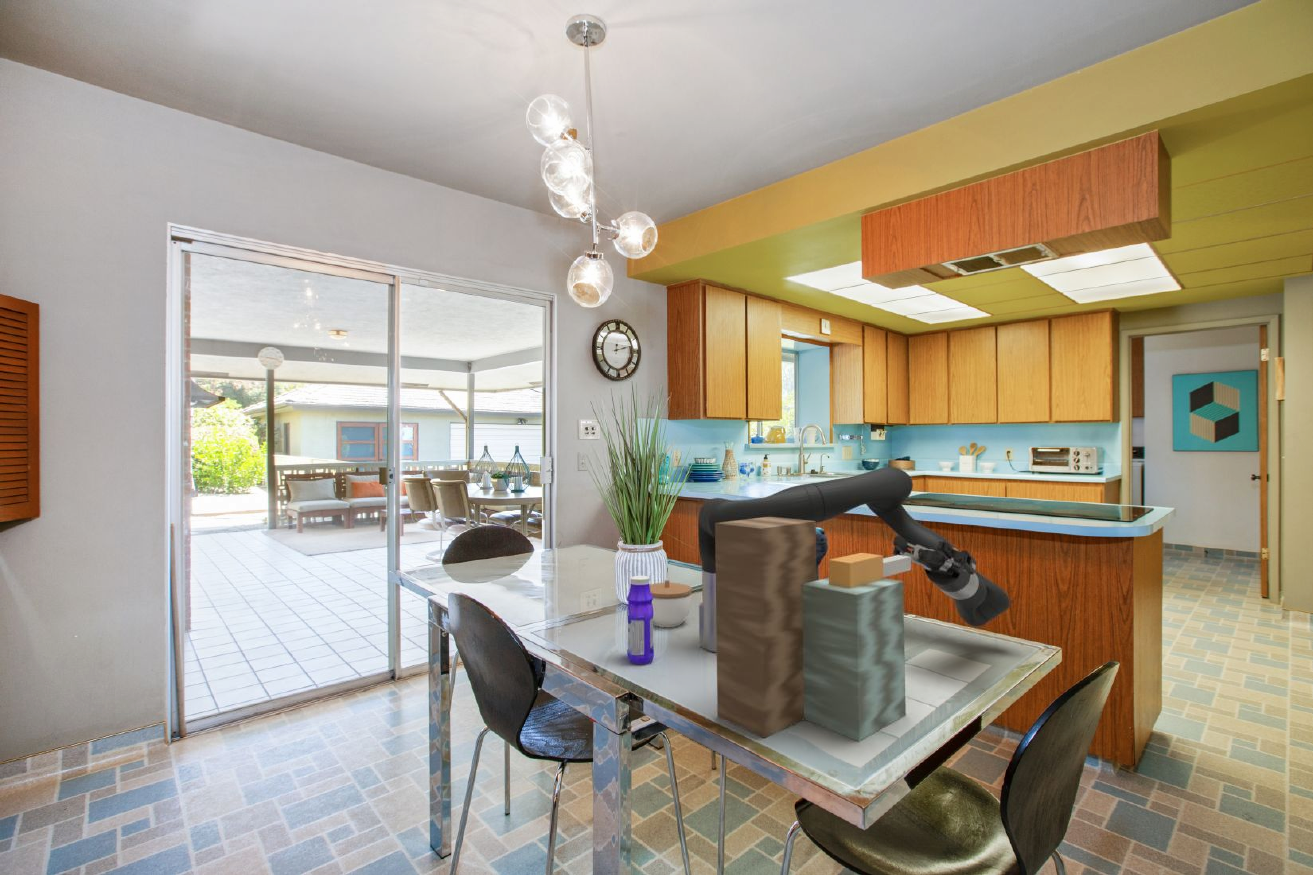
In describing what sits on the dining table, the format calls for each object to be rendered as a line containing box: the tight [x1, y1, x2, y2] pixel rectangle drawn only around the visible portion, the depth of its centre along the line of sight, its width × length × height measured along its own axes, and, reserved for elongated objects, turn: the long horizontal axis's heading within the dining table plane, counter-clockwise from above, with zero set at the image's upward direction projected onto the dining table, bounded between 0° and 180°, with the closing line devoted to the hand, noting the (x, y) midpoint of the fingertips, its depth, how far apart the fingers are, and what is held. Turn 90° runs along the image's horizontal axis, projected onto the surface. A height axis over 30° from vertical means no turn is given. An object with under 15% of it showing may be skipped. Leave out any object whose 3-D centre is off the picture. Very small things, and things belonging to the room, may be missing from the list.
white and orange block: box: [827, 552, 912, 588], centre depth 103 cm, size 21×4×4 cm, turn 130°
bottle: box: [626, 575, 655, 665], centre depth 127 cm, size 7×6×17 cm
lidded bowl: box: [649, 579, 693, 629], centre depth 153 cm, size 13×13×11 cm
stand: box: [715, 517, 907, 742], centre depth 99 cm, size 24×20×32 cm
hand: (917, 542), depth 113 cm, fingers open, 8 cm apart
